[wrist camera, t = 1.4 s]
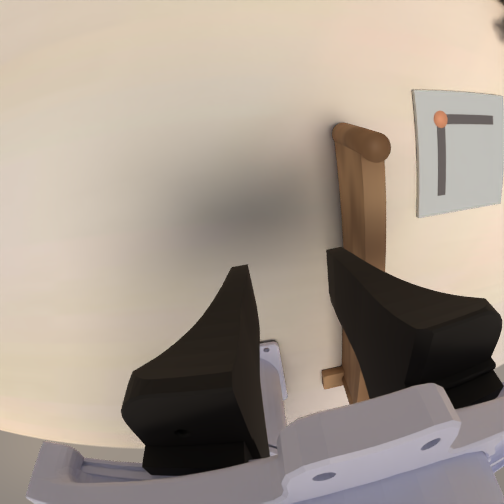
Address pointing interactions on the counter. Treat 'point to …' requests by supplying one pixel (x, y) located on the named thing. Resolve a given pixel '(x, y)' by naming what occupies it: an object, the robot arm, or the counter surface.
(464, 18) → the counter surface
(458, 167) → the card
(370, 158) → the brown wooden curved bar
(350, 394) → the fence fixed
